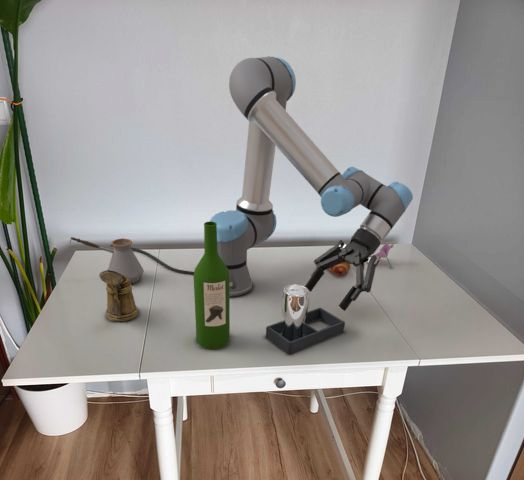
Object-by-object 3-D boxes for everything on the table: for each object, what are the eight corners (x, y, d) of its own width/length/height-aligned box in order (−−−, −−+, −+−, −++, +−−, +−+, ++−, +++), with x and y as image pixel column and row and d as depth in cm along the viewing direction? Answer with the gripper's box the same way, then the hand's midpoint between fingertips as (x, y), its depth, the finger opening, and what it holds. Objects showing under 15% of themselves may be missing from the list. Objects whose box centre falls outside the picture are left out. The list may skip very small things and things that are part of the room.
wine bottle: (202, 352, 130) (197, 231, 112) (192, 335, 137) (186, 219, 119) (234, 345, 133) (234, 227, 115) (223, 329, 140) (221, 215, 122)
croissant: (324, 263, 189) (316, 245, 186) (349, 252, 187) (341, 233, 183) (332, 286, 171) (323, 267, 168) (359, 274, 169) (351, 254, 165)
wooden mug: (99, 330, 137) (89, 270, 127) (110, 306, 148) (101, 249, 138) (132, 330, 138) (124, 270, 128) (140, 307, 149) (134, 250, 139)
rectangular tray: (265, 337, 137) (266, 326, 135) (318, 317, 147) (320, 307, 145) (289, 354, 130) (290, 343, 128) (343, 332, 141) (344, 321, 139)
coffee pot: (144, 271, 170) (140, 228, 162) (143, 286, 160) (138, 241, 152) (79, 273, 167) (71, 230, 158) (74, 289, 157) (65, 244, 149)
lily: (395, 261, 187) (388, 237, 185) (410, 261, 176) (402, 236, 173) (367, 274, 186) (359, 249, 184) (380, 274, 174) (371, 249, 172)
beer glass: (303, 348, 133) (307, 297, 125) (277, 344, 134) (280, 294, 126) (306, 334, 138) (311, 285, 130) (281, 331, 140) (285, 282, 131)
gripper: (410, 257, 131) (362, 323, 131) (343, 229, 147) (301, 287, 148) (401, 242, 125) (351, 311, 126) (332, 214, 141) (288, 275, 142)
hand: (324, 298), depth 137 cm, fingers open, 13 cm apart
